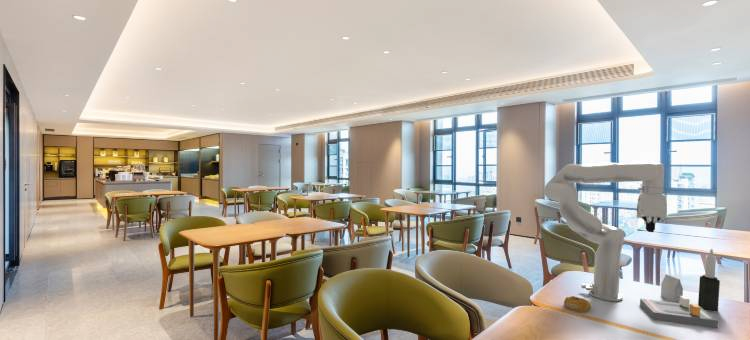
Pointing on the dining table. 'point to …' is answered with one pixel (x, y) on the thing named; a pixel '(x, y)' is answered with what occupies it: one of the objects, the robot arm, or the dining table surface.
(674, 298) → the grey piece
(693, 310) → the breaker handle
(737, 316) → the dining table surface
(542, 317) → the dining table surface
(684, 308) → the breaker panel
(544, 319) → the dining table surface
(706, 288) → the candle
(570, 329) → the dining table surface
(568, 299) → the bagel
